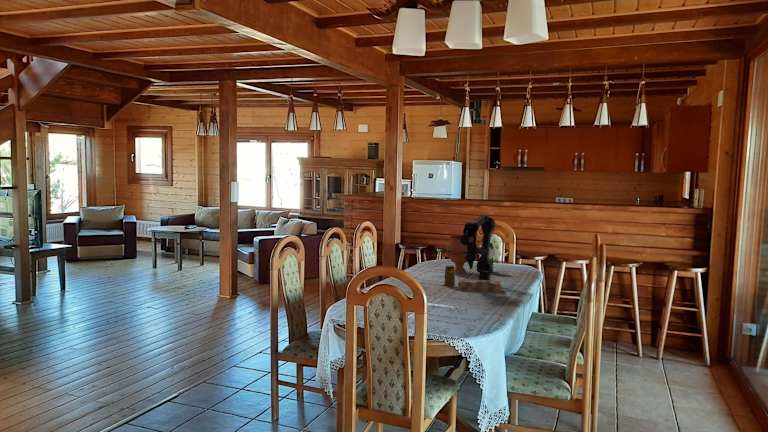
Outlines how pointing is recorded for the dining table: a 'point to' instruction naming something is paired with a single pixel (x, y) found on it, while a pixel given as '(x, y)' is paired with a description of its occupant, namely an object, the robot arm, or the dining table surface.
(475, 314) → the dining table surface
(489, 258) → the milk carton
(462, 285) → the housing
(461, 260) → the goblet
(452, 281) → the condiment
